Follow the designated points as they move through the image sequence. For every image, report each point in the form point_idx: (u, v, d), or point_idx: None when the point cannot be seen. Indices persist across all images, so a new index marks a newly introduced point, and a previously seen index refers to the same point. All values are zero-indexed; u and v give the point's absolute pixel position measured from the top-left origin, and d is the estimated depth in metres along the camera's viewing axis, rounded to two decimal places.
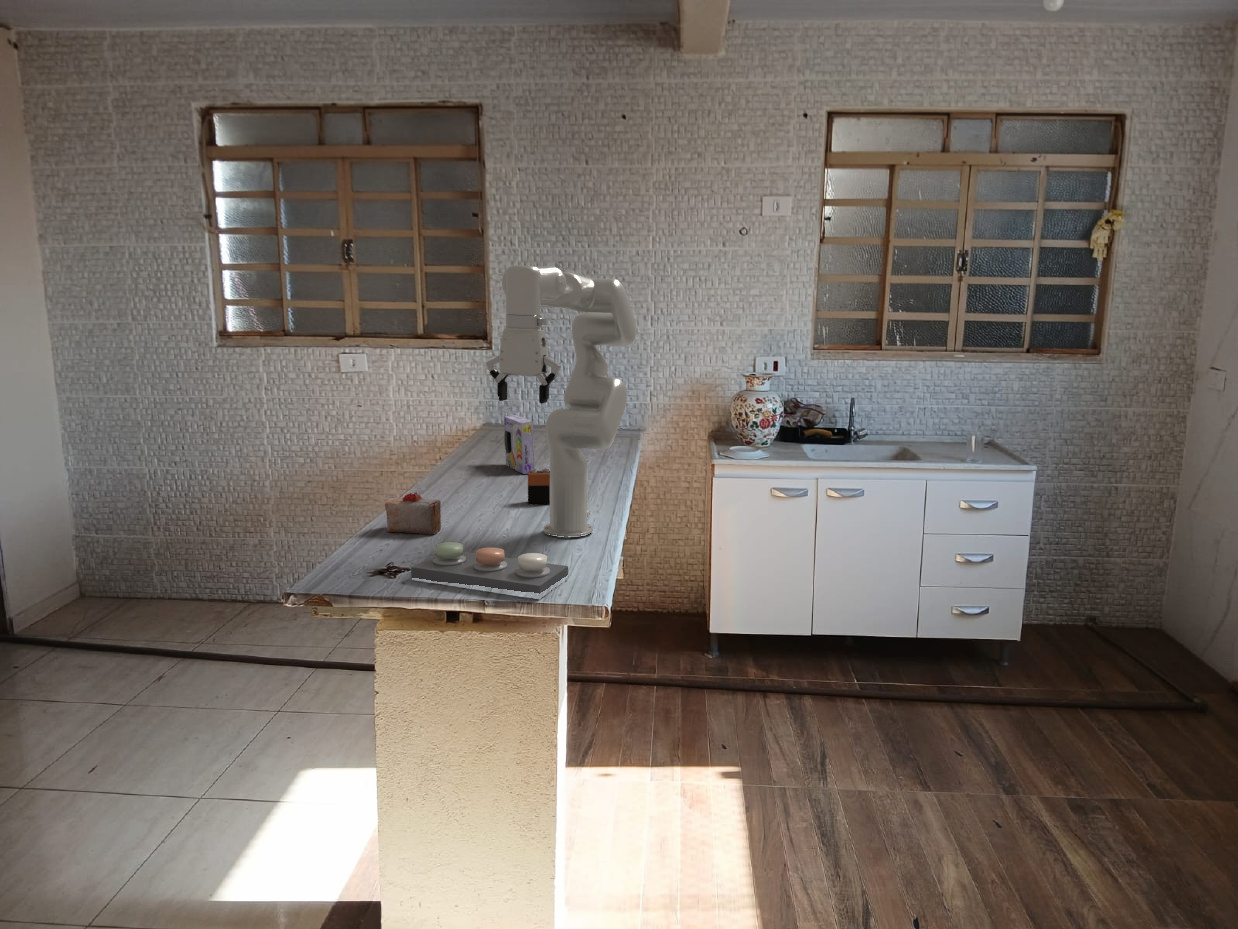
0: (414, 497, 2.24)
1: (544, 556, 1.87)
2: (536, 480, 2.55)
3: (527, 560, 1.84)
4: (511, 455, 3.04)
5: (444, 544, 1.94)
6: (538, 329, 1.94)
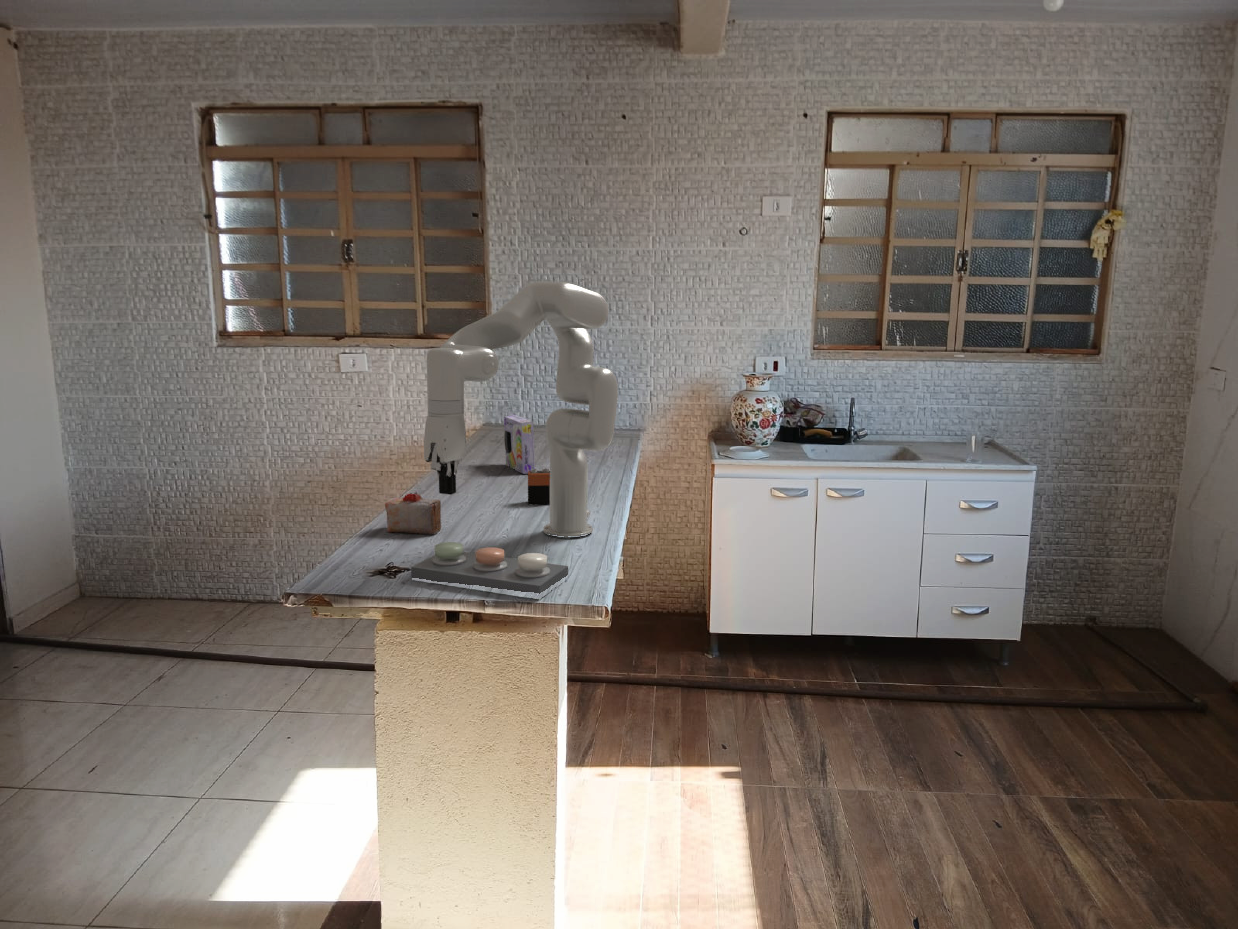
0: (414, 497, 2.24)
1: (544, 556, 1.87)
2: (536, 480, 2.55)
3: (527, 560, 1.84)
4: (511, 455, 3.04)
5: (444, 544, 1.94)
6: None
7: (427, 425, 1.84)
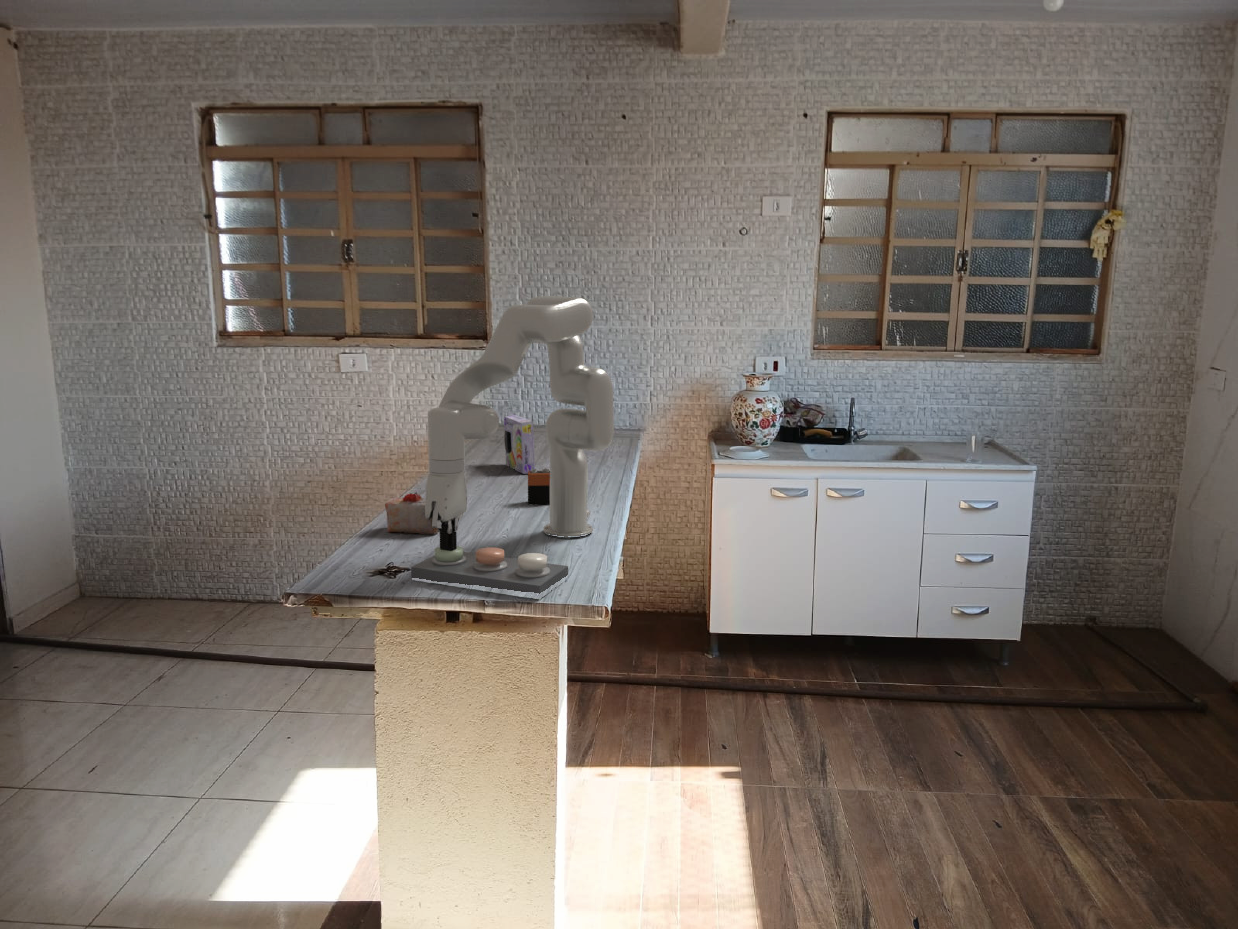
0: (414, 497, 2.24)
1: (544, 556, 1.87)
2: (536, 480, 2.55)
3: (527, 560, 1.84)
4: (511, 455, 3.04)
5: None
6: None
7: (428, 484, 1.86)
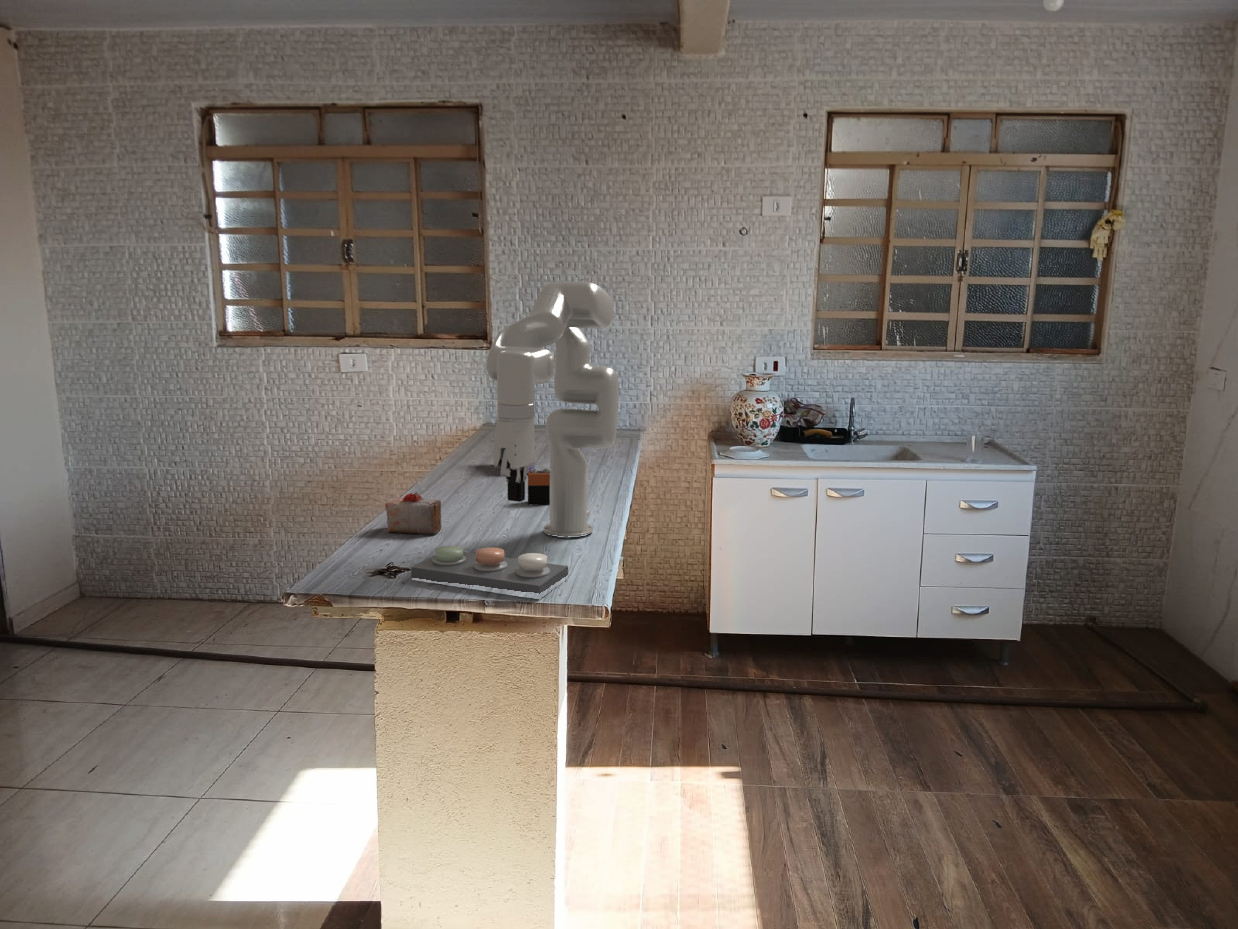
0: (414, 497, 2.24)
1: (544, 556, 1.87)
2: (536, 480, 2.55)
3: (527, 560, 1.84)
4: None
5: (444, 548, 1.94)
6: None
7: (497, 430, 1.78)
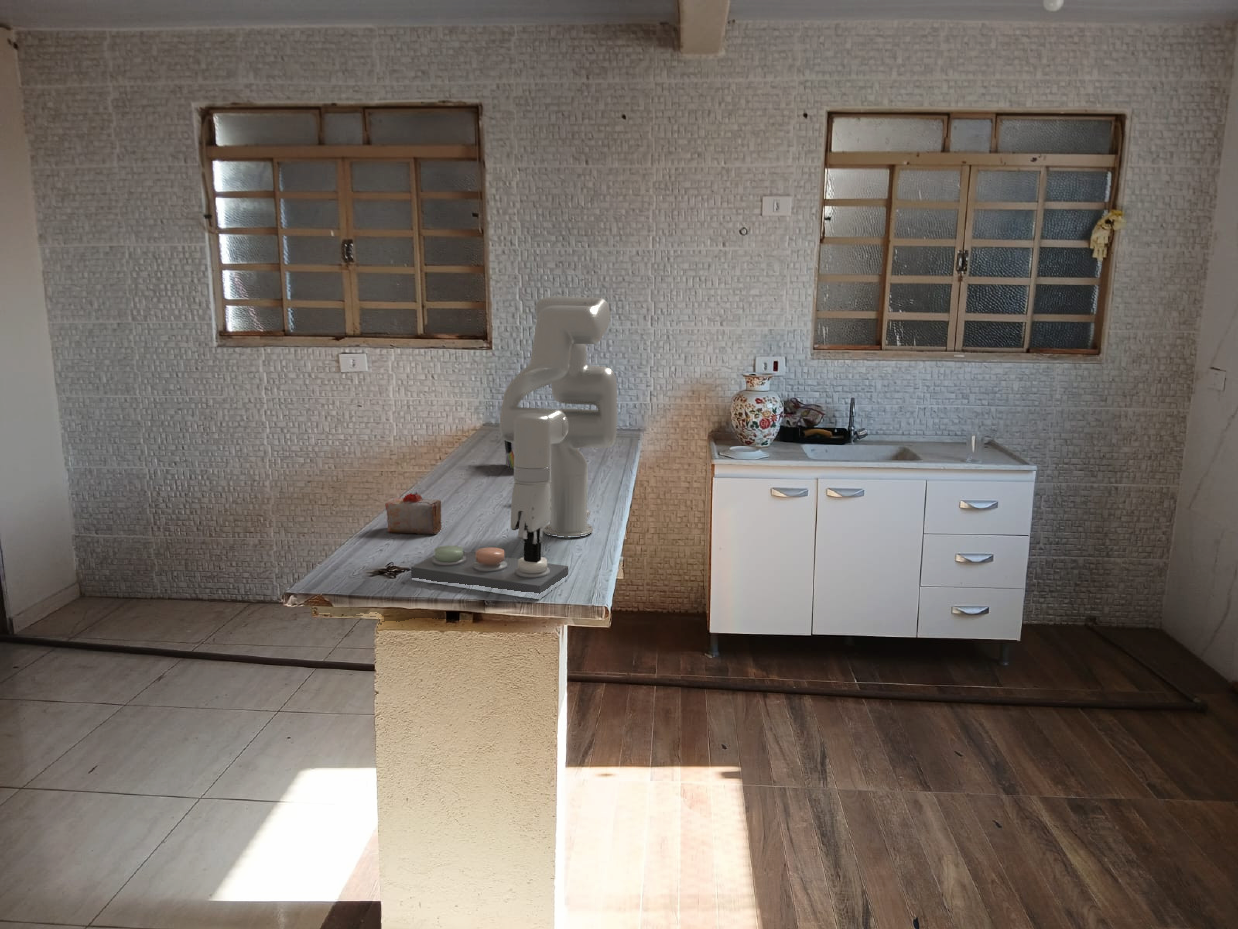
0: (415, 497, 2.23)
1: (544, 559, 1.87)
2: None
3: (527, 563, 1.84)
4: (511, 455, 3.04)
5: (444, 548, 1.94)
6: None
7: (514, 493, 1.79)
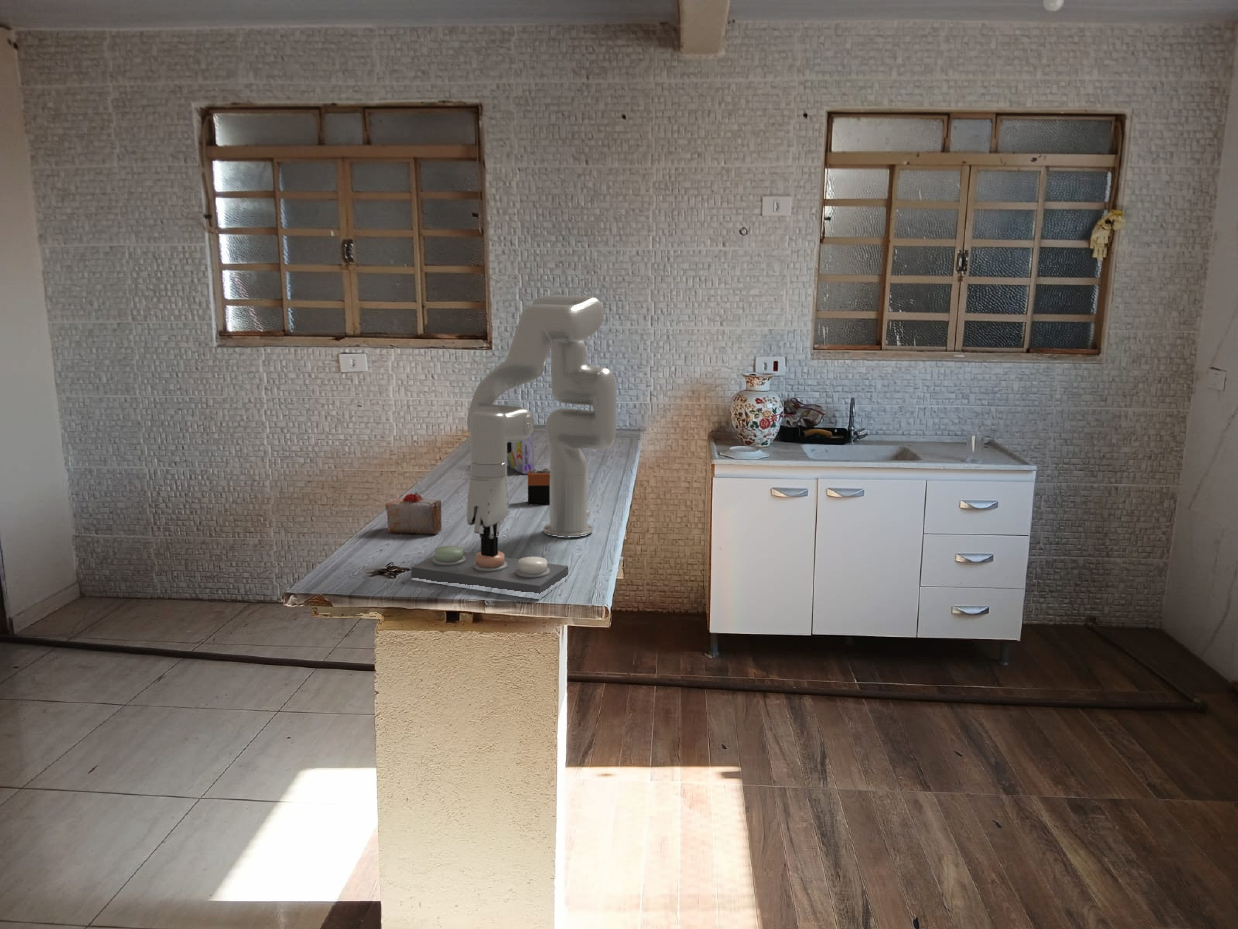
0: (415, 497, 2.23)
1: (544, 560, 1.87)
2: (536, 480, 2.55)
3: (527, 564, 1.84)
4: (511, 455, 3.04)
5: (444, 548, 1.94)
6: None
7: (471, 489, 1.83)
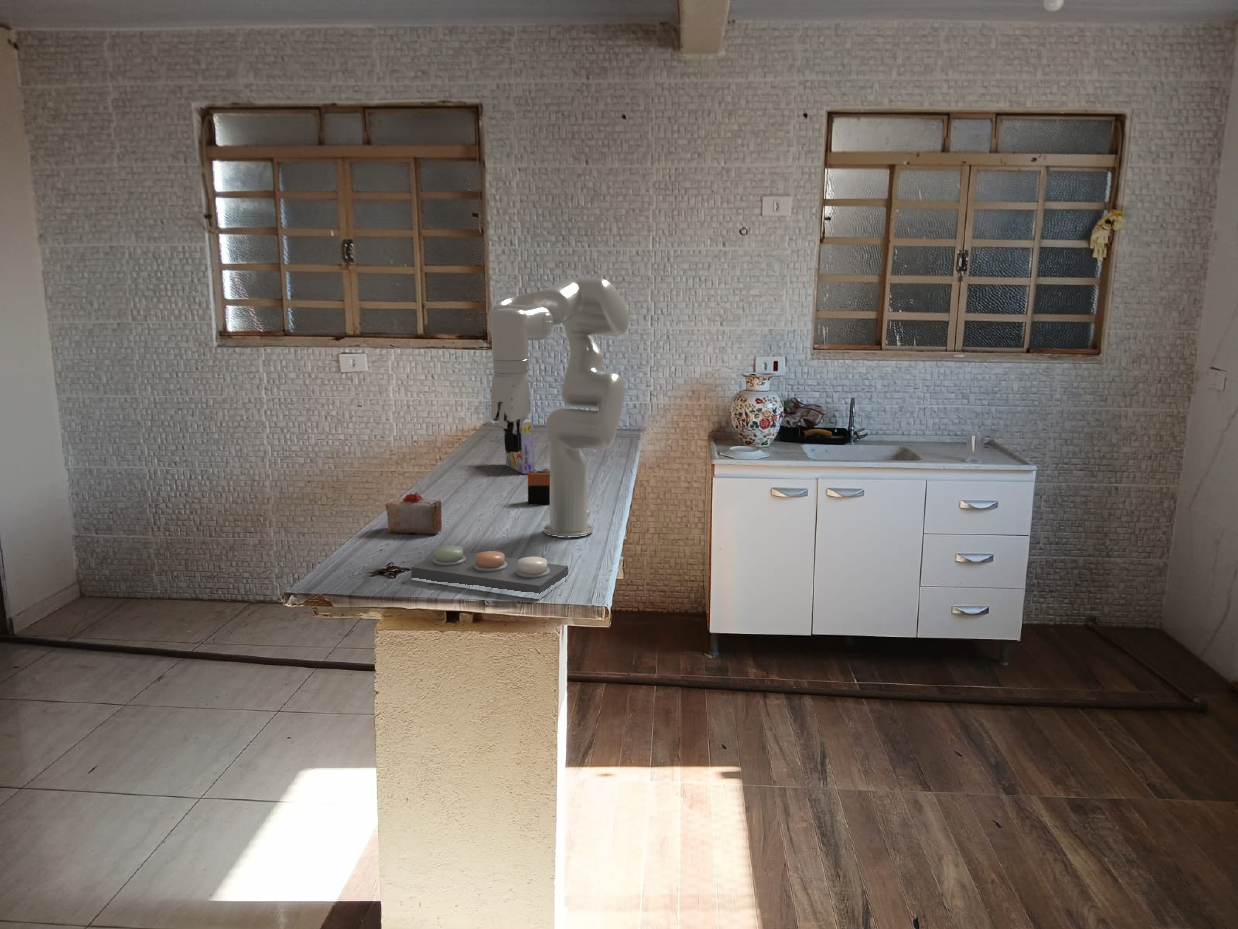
0: (415, 497, 2.23)
1: (544, 560, 1.87)
2: (536, 480, 2.55)
3: (527, 564, 1.84)
4: (511, 455, 3.04)
5: (444, 548, 1.94)
6: None
7: (494, 385, 1.88)
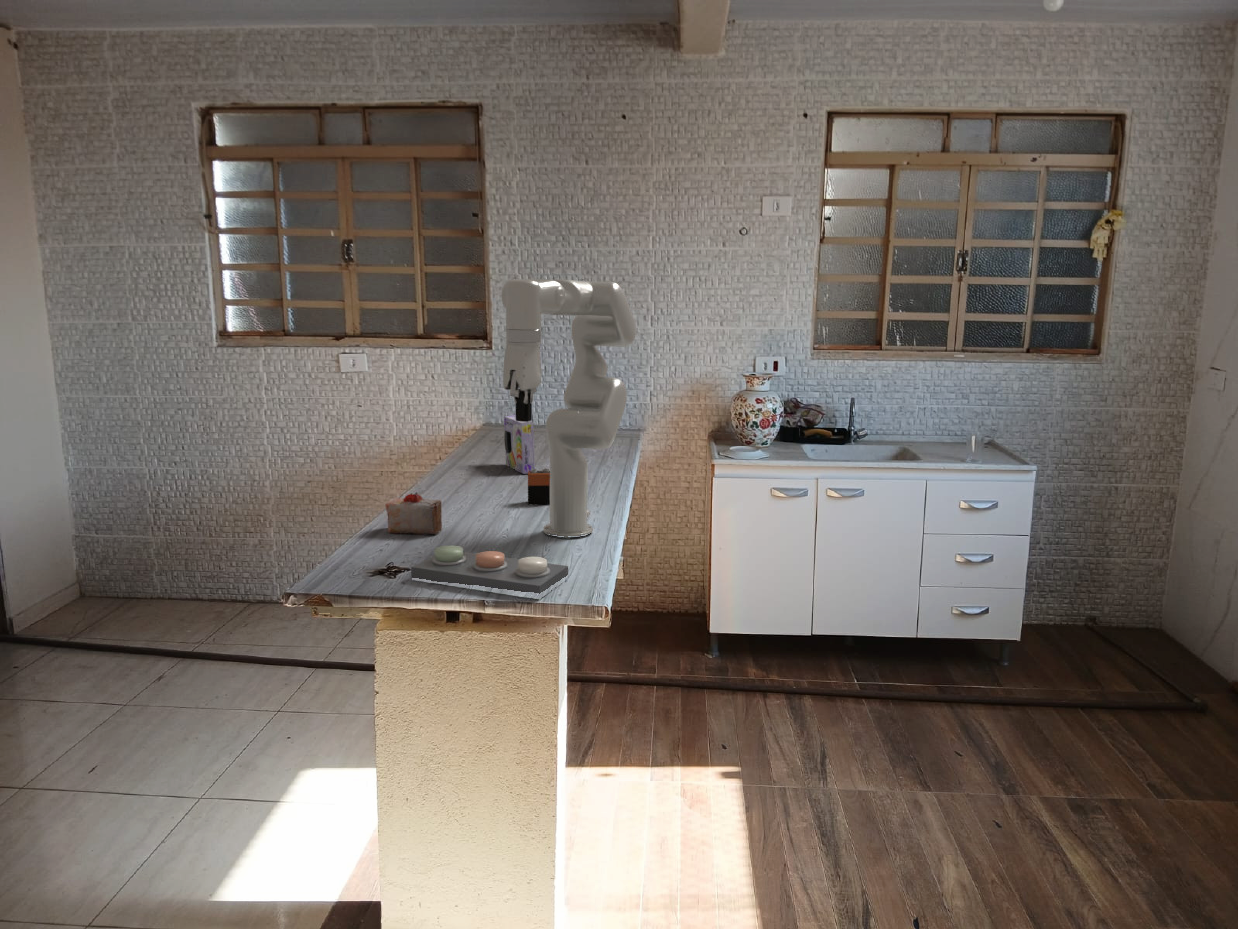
0: (415, 497, 2.23)
1: (544, 560, 1.87)
2: (536, 480, 2.55)
3: (527, 564, 1.84)
4: (511, 455, 3.04)
5: (444, 548, 1.94)
6: None
7: (507, 353, 1.92)
